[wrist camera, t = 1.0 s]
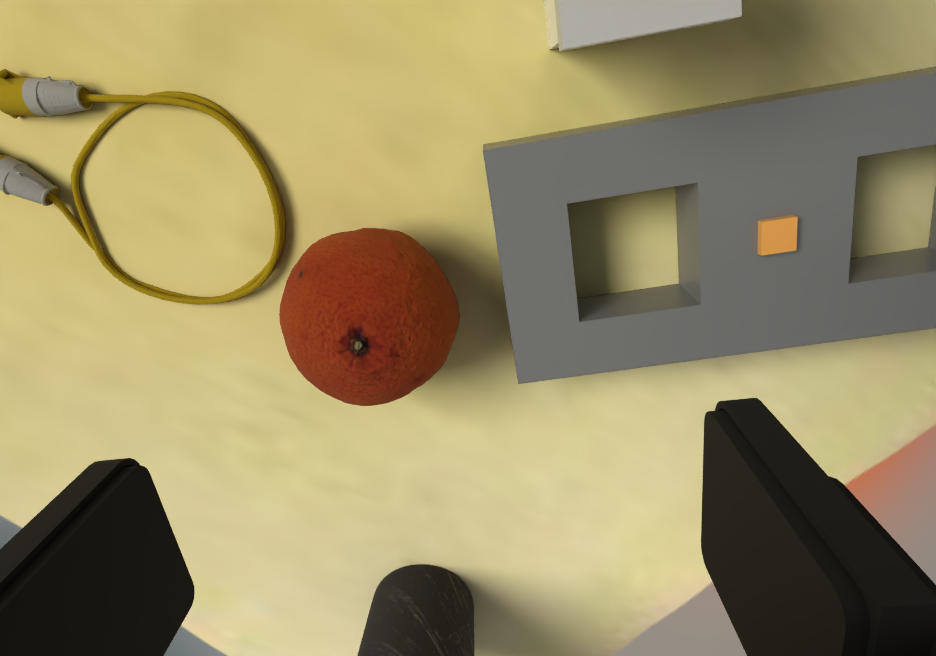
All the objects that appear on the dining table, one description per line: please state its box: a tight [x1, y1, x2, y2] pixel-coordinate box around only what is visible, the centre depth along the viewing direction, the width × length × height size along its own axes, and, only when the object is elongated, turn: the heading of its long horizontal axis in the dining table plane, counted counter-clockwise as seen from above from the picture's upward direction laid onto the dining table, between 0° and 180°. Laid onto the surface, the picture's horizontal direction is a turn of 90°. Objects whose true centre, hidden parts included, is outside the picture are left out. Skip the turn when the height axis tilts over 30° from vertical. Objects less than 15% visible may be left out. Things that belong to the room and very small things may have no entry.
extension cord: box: [0, 69, 286, 304], centre depth 30 cm, size 12×16×2 cm
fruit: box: [279, 228, 460, 406], centre depth 29 cm, size 9×9×8 cm
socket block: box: [483, 67, 936, 384], centre depth 29 cm, size 12×26×4 cm, turn 99°
